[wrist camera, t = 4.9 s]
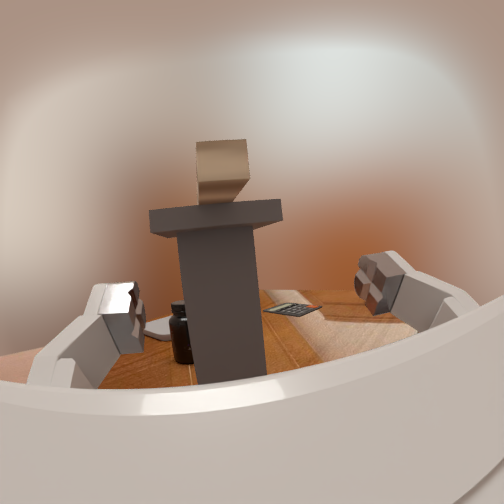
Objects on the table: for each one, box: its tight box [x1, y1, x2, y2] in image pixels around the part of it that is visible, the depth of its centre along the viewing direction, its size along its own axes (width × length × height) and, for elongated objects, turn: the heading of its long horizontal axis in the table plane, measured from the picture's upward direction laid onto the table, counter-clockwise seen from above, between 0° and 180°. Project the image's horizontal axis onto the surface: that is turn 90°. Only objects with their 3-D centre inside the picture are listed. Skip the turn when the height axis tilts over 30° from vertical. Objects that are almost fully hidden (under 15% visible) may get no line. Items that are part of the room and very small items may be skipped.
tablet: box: [143, 316, 171, 341], centre depth 80 cm, size 16×26×2 cm, turn 141°
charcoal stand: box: [149, 199, 283, 385], centre depth 32 cm, size 14×12×26 cm
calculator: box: [263, 303, 322, 317], centre depth 88 cm, size 12×1×15 cm
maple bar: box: [196, 139, 250, 205], centre depth 27 cm, size 22×3×2 cm, turn 11°
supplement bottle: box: [169, 300, 194, 364], centre depth 54 cm, size 7×7×12 cm
